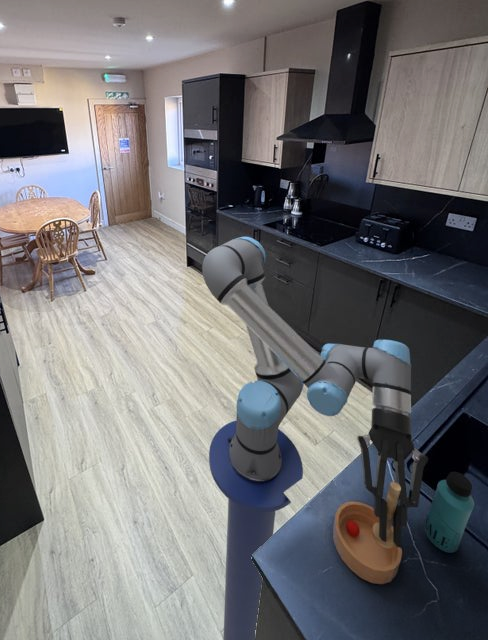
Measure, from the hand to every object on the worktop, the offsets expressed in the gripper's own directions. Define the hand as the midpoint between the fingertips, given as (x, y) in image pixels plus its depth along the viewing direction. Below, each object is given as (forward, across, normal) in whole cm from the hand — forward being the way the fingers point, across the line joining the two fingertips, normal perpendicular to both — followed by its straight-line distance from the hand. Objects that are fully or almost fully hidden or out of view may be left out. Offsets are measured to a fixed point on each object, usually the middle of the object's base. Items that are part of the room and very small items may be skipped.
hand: (389, 541), depth 63 cm
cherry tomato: (+3, +5, -13) cm, 14 cm away
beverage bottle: (0, -14, -19) cm, 23 cm away
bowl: (+5, +2, -13) cm, 15 cm away
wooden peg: (+1, 0, -6) cm, 6 cm away
